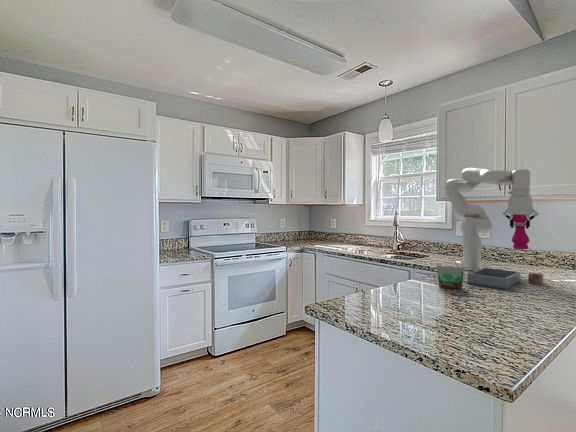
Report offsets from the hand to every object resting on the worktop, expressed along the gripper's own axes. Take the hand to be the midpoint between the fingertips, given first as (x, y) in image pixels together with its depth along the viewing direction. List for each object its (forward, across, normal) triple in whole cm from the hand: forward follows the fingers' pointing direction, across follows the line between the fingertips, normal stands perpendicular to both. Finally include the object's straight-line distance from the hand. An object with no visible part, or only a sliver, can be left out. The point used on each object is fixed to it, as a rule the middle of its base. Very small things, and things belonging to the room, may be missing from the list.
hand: (519, 227), depth 159 cm
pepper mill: (+11, +1, 0) cm, 11 cm away
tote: (+27, -7, -18) cm, 33 cm away
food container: (+27, -18, -47) cm, 57 cm away
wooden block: (+27, +8, -4) cm, 29 cm away
